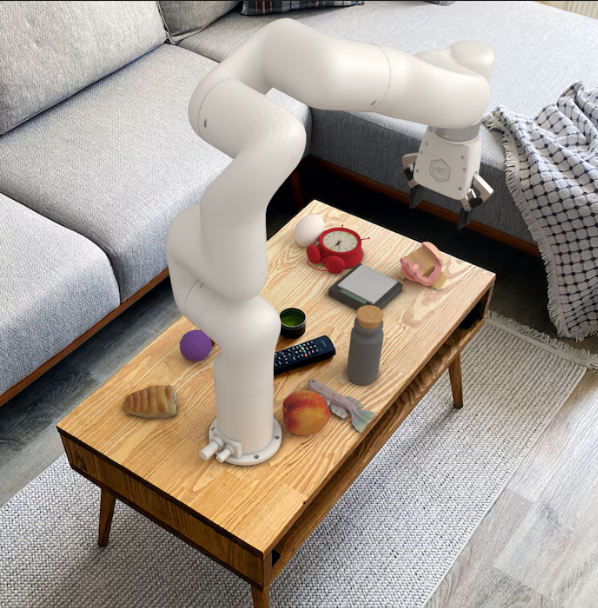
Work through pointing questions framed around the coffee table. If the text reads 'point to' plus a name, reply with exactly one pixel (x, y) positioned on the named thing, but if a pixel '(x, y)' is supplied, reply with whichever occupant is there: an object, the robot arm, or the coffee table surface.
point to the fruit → (305, 412)
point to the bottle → (365, 345)
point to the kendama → (196, 345)
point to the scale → (365, 288)
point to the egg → (309, 230)
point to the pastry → (152, 402)
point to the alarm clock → (336, 250)
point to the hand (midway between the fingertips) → (438, 215)
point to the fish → (342, 405)
